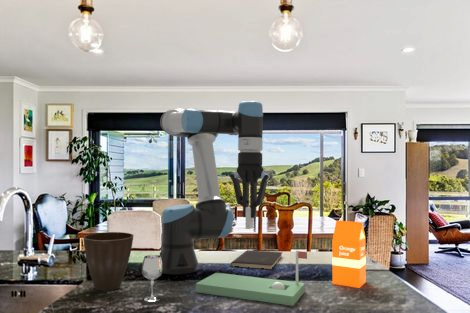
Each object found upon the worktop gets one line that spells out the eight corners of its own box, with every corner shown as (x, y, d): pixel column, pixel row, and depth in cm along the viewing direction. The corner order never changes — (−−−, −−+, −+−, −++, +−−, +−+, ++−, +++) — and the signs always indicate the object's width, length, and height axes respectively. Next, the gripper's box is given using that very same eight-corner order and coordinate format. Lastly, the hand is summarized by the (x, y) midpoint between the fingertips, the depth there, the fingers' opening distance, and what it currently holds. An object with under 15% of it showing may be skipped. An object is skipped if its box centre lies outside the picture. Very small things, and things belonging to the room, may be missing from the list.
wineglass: (143, 296, 118) (143, 254, 118) (163, 295, 118) (163, 254, 119) (140, 302, 112) (140, 259, 113) (161, 302, 113) (161, 258, 113)
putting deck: (195, 291, 122) (195, 250, 123) (215, 280, 135) (216, 242, 135) (296, 306, 110) (296, 259, 110) (308, 291, 123) (308, 250, 123)
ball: (267, 294, 118) (271, 281, 118) (271, 290, 122) (275, 278, 122) (280, 299, 117) (284, 286, 116) (284, 296, 120) (287, 283, 120)
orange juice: (359, 288, 127) (359, 223, 128) (332, 283, 132) (332, 221, 132) (366, 282, 134) (365, 221, 134) (339, 278, 138) (339, 219, 139)
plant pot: (140, 282, 132) (141, 232, 133) (118, 296, 118) (119, 240, 118) (99, 279, 135) (99, 231, 136) (72, 293, 121) (73, 238, 121)
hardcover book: (282, 257, 172) (282, 252, 172) (272, 270, 150) (272, 264, 150) (245, 255, 177) (245, 250, 177) (230, 267, 154) (230, 261, 154)
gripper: (225, 151, 125) (225, 228, 125) (266, 151, 120) (265, 231, 120) (235, 152, 132) (234, 225, 132) (274, 152, 127) (273, 228, 126)
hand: (249, 228), depth 126 cm, fingers closed
